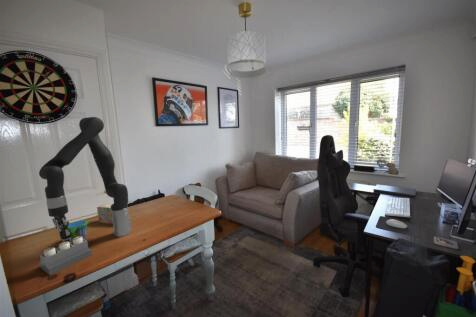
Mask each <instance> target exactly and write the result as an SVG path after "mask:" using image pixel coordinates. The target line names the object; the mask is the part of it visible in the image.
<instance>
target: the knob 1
mask: <svg viewBox="0 0 476 317" xmlns="http://www.w3.org/2000/svg"><path fill="white" fill-rule="evenodd" d="M55 249H56V248H55V247H48V248H46V249H44V250H43V254H44V256H45V258H47V257H49V256H51V255H54V254H56V251H55Z"/></svg>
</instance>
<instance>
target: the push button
mask: <svg viewBox="0 0 476 317" xmlns="http://www.w3.org/2000/svg"><path fill="white" fill-rule="evenodd" d="M66 235H67V236H66V237H64V238H61V237H60V236H59V237H60V239H61V240H62V243H63V242H69V243H71V242H72V241H71V236H72V233H70V232H68V231H66Z"/></svg>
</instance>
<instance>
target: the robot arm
mask: <svg viewBox="0 0 476 317" xmlns="http://www.w3.org/2000/svg"><path fill="white" fill-rule="evenodd" d="M78 125H79V126H78V127H79V129H80V132H79V134H77V136H75V137H74V138H73V139H71V140H70V141H68V142H66V144H65V145H64V146H63V147H61V149H59V151H58V152H57V153H56V155H55V156H53V157H52V158H50V159H49V160H48V161H47V162H46V163H45V164H43V165H42V166H41V168H40V170H38V174H39V177H40V178H41V179H42V180H46V184H47V185H46V186H45V187H44V192H45V198H46V208H47V214H48V216H49V217H51V218H52V219H51V221H52V223H53V225H54V226H55V229H56V230H57V231H58V232H59V233H58V234H59V237H61V238H64V237H66V236H67V235H66V232H67V229H68V225H69V224H70V222H69V221H68V220H67V217H66V214H68V212H69V206H68V201H67V197H66V194H65V189H64V188H65V187H64V184H65V173H64V170H63V168H64V167H65V166H66V167H67V166H69V165H70V164H71V163H72V162H73V160H75V159H76V157H77V156H78V154H80V152H81V151H82V150H83V149H84V148H85V147H86V146H87V145H88V147H89V149H90V152H91V154H92V157H93V161H94V162H95V165H96V167H97V169H98V172H99V175H100V177H101V179H102V181H103V186H104V190H105V192H106V195H107V196H108V197H110V198H112V199H113V203H111V204H112V205H111V213H112V221H113V224H112V226H113V227H112V228H113V235H114V237H117V238H121V237H124V236H127V235H129V234H130V233H132V231H133V229H132V222H131V217H129V216H130V215H129V207H128V204H129V191H128V187H127V186H126V185H125V184H123V183H118V181H117V178H116V175H115V167H116V166H115V165H116V164H115V160H114V157H113V155H112V153H111V151H110V150H109V148H108V147H107V145H106V144H104V142H103V141H102V140H101V136H100V133H101V132H102V131H103V129H104V127H105V124H104V121H103V120H102V119H101V118H100V117H96V116H90V117H89V116H88V117H83V118H81V119H80V120H79V123H78ZM61 238H60V239H61Z"/></svg>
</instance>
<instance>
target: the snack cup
mask: <svg viewBox="0 0 476 317" xmlns="http://www.w3.org/2000/svg"><path fill="white" fill-rule="evenodd" d="M87 226H88V221H87V220H78V221H73V222H71V223H70V222H69V225H68V229H66V232H70V233H72V236H71V242H73V239H74V238H76V237H80V236H81V237H83V239H85V240H86V238H87V234H88V233H87V232H88V230H87V229H88V227H87Z"/></svg>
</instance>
